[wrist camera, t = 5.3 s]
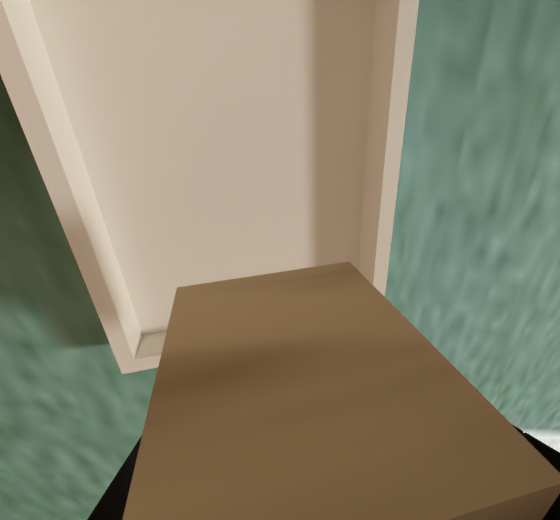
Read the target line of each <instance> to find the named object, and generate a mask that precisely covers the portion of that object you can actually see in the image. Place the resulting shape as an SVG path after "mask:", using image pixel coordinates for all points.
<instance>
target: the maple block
mask: <svg viewBox="0 0 560 520" xmlns="http://www.w3.org/2000/svg"><path fill="white" fill-rule="evenodd" d="M559 494H560V473H559V472H558V471H557V470H556V469H555V468H554V467H553V466H552V465H551V464H550V463H549V462H548V461H547V460H546V459H545V458H544V457H543V456H542V455H541V454H540V453H539V452H538V451H537V450H536V449H535V448H534V447H533V446H532V445H531V444H530V443H529V442H528V441H527V440H526V439H525V438H524V437H523V436H522V435H521V434H520V433H519V432H518V431H517V430H516V429H515V428H514V427H513V425H512V424H511V423H510V422H509V421H508V420H507V419H506V418H505V417H504V416H503V415H502V414H501V413H500V412H499V411H498V410H497V409H496V408H495V407H494V406H493V405H492V404H491V403H490V402H489V401H488V400H487V399H486V398H485V397H484V396H483V395H482V394H481V393H480V392H479V391H478V390H477V389H476V388H475V387H474V386H473V385H472V384H471V383H470V382H469V381H468V380H467V379H466V378H465V377H464V376H463V375H462V374H461V373H460V372H459V371H458V370H457V369H456V368H455V367H454V366H453V365H452V364H451V363H450V362H449V361H448V360H447V359H446V358H445V357H444V356H443V355H442V354H441V353H440V352H439V351H438V350H437V349H436V348H435V347H434V346H433V345H432V344H431V343H430V342H429V341H428V340H427V339H426V338H425V337H424V336H423V335H422V334H421V333H420V332H419V331H418V330H417V329H416V328H415V327H414V326H413V325H412V324H411V323H410V322H409V321H408V320H407V319H406V318H405V317H404V316H403V315H402V314H401V313H400V312H399V311H398V310H397V309H396V308H395V307H394V306H393V305H392V304H391V303H390V302H389V301H388V300H387V299H386V298H385V297H384V296H383V295H382V294H381V293H380V292H379V291H378V290H377V289H376V288H375V287H374V286H373V285H372V284H371V283H370V282H369V281H368V280H367V279H366V278H365V277H364V276H363V275H362V274H361V273H360V272H359V271H358V270H357V269H356V268H355V267H354V266H353V265H352V264H351V263H350V262H342V263H336V264H329V265H323V266H316V267H309V268H303V269H296V270H289V271H283V272H276V273H269V274H263V275H256V276H249V277H243V278H236V279H229V280H223V281H216V282H209V283H203V284H196V285H189V286H183V287H177V290H176V294H175V298H174V302H173V307H172V311H171V315H170V319H169V324H168V328H167V332H166V336H165V341H164V345H163V349H162V353H161V358H160V362H159V366H158V370H157V375H156V379H155V383H154V387H153V392H152V396H151V400H150V404H149V409H148V413H147V417H146V421H145V426H144V430H143V434H142V439H141V443H140V447H139V451H138V456H137V460H136V464H135V468H134V473H133V477H132V481H131V485H130V490H129V494H128V498H127V502H126V507H125V511H124V515H123V519H122V520H542V519H543V518H544V516H545V515H546V513H547V512H548V510H549V509H550V507H551V506H552V504H553V503H554V501H555V500H556V498H557V497H558V495H559Z"/></svg>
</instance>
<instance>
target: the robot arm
mask: <svg viewBox="0 0 560 520" xmlns="http://www.w3.org/2000/svg"><path fill="white" fill-rule="evenodd" d="M513 427H514V428H515V429H516V430H517V431H518V432H519V433H520V434H521V435H522V436H523V437H524V438H525V439H526V440H527V441H528V442H529V443H530V444H531V445H532V446H533V447H534V448H535V449H536V450H537V451H538V452H539V453H540V454H541V455H542V456H543V457H544V458H545V459H546V460H547V461H548V462H549V463H550V464H551V465H552V466H553V467H554V468H555V469H556V470H557V471H558V472H559V473H560V453H559V452H558V451H556V450H554V449H553V448H551V447H549V446H547V445H546V444H544V443H542V442H541V441H539V440H537V439H536V438H534V437H532V436H531V435H529V434H527V433H523V431H522V430H520V429H519V428H517V427H515V426H514V425H513ZM141 439H142V436H141V438H140V439H139V441H138V442H137V444H136V445H135V447H134V448H133V450H132V451H131V453H130V455H129V456H128V458H127V459H126V461H125V462H124V464H123V465H122V467H121V468H120V470H119V472H118V473H117V475H116V476H115V478H114V479H113V481H112V482H111V484H110V485H109V487H108V489H107V490H106V492H105V493H104V495H103V496H102V498H101V499H100V501H99V502H98V504H97V506H96V507H95V509H94V510H93V512H92V513H91V515H90V516H89V518H88V519H87V520H122V519H123V515H124V511H125V507H126V502H127V498H128V494H129V490H130V485H131V481H132V477H133V473H134V468H135V464H136V460H137V456H138V451H139V447H140V443H141ZM542 520H560V494H559V495H558V497H557V498H556V500H555V501H554V503H553V504H552V506H551V507H550V509H549V510H548V512H547V513H546V515H545V516H544V518H543V519H542Z"/></svg>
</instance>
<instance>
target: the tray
mask: <svg viewBox="0 0 560 520" xmlns="http://www.w3.org/2000/svg"><path fill="white" fill-rule="evenodd" d="M418 6H419V0H0V75H1V77H2V80H3V82H4V85H5V87H6V89H7V92H8V94H9V97H10V99H11V102H12V104H13V107H14V109H15V112H16V114H17V117H18V119H19V121H20V124H21V126H22V129H23V131H24V134H25V136H26V139H27V141H28V144H29V146H30V149H31V151H32V153H33V156H34V158H35V161H36V163H37V166H38V168H39V171H40V173H41V176H42V178H43V181H44V183H45V185H46V188H47V190H48V193H49V195H50V198H51V200H52V203H53V205H54V208H55V210H56V213H57V215H58V217H59V220H60V222H61V225H62V227H63V230H64V232H65V235H66V237H67V240H68V242H69V245H70V247H71V249H72V252H73V254H74V257H75V259H76V262H77V264H78V267H79V269H80V272H81V274H82V277H83V279H84V281H85V284H86V286H87V289H88V291H89V294H90V296H91V299H92V301H93V304H94V306H95V309H96V311H97V313H98V316H99V318H100V321H101V323H102V326H103V328H104V331H105V333H106V336H107V338H108V341H109V343H110V345H111V348H112V350H113V353H114V355H115V358H116V360H117V363H118V365H119V368H120V370H121V373H122V374H125V373H131V372H136V371H141V370H146V369H152V368H157V367H158V366H159V362H160V358H161V353H162V349H163V345H164V341H165V336H166V332H167V328H168V324H169V319H170V315H171V311H172V307H173V302H174V298H175V294H176V290H177V287H183V286H189V285H196V284H203V283H209V282H216V281H223V280H229V279H236V278H243V277H249V276H256V275H263V274H269V273H276V272H283V271H289V270H296V269H303V268H309V267H316V266H323V265H329V264H336V263H342V262H350V263H351V264H352V265H353V266H354V267H355V268H356V269H357V270H358V271H359V272H360V273H361V274H362V275H363V276H364V277H365V278H366V279H367V280H368V281H369V282H370V283H371V284H372V285H373V286H374V287H375V288H376V289H377V290H378V291H379V292H380V293H381V294H382V295H383V296H384V297H385V290H386V282H387V273H388V265H389V256H390V247H391V239H392V230H393V221H394V213H395V204H396V196H397V187H398V178H399V170H400V161H401V152H402V144H403V135H404V127H405V118H406V109H407V101H408V92H409V83H410V75H411V66H412V58H413V49H414V40H415V32H416V23H417V14H418Z"/></svg>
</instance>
